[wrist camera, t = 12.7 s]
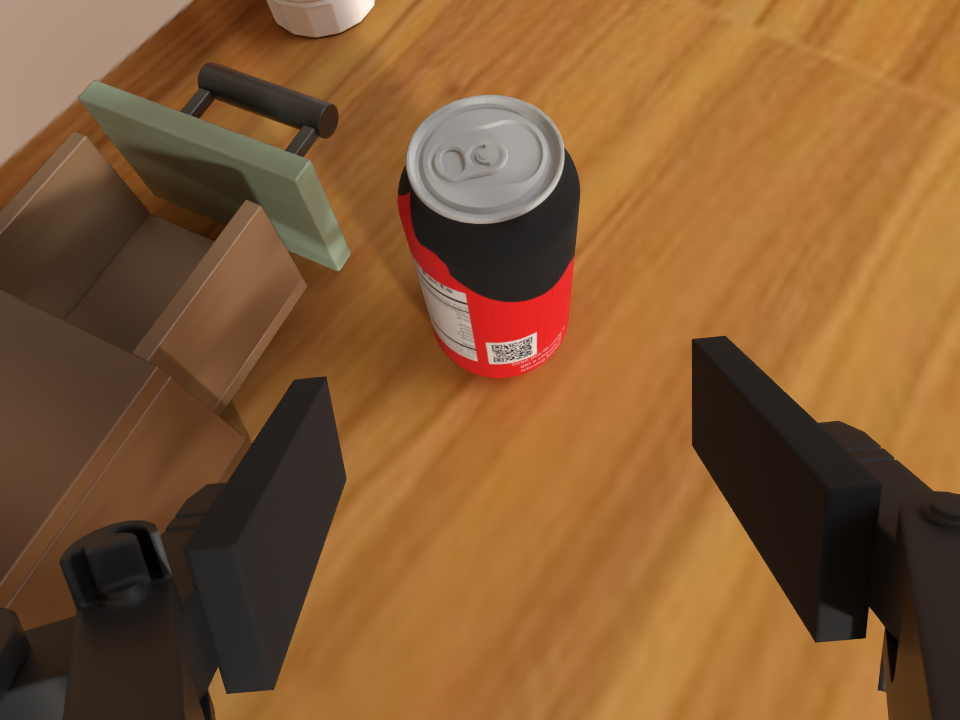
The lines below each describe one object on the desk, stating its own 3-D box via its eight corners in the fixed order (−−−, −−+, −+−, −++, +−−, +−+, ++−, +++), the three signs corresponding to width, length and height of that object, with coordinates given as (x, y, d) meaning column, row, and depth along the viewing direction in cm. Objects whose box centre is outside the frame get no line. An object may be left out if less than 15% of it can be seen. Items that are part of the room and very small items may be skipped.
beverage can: (581, 371, 32) (606, 214, 21) (446, 398, 32) (401, 254, 21) (551, 257, 35) (558, 65, 24) (426, 282, 35) (375, 100, 24)
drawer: (217, 118, 39) (156, 10, 33) (397, 184, 36) (368, 80, 30) (-21, 412, 32) (-155, 348, 26) (176, 521, 30) (79, 479, 23)
